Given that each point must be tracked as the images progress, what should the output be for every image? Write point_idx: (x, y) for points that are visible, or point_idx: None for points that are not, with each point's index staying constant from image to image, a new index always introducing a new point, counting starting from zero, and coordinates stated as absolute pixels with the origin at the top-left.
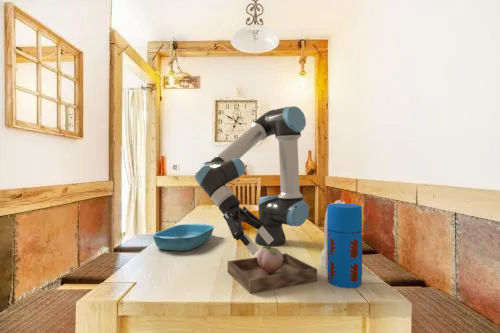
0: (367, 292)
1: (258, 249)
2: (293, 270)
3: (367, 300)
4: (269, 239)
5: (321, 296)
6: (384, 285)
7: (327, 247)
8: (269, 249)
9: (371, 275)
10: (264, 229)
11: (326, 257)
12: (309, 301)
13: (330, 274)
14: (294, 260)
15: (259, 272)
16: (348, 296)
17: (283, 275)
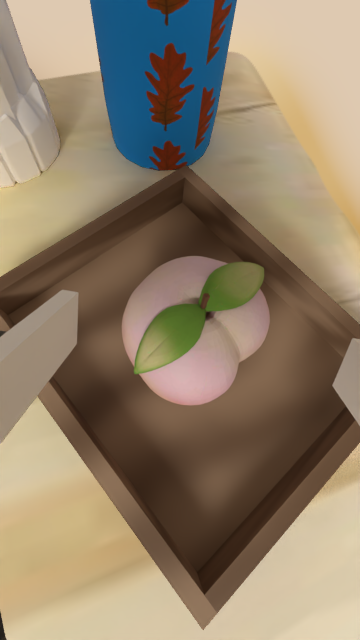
0: (221, 97)
1: (351, 341)
2: (123, 266)
3: (270, 103)
4: (69, 321)
5: (293, 186)
6: None
7: (166, 46)
8: (242, 299)
9: (87, 74)
10: (17, 341)
11: (24, 135)
12: (339, 211)
13: (195, 139)
14: (74, 249)
15: None
16: (264, 133)
17: (291, 265)
